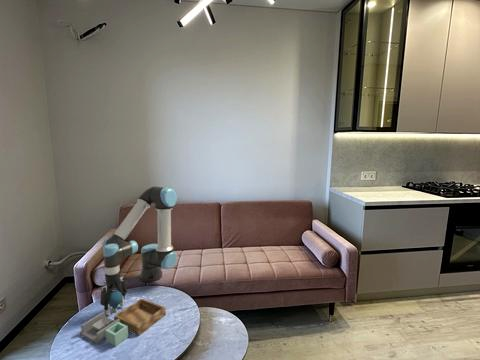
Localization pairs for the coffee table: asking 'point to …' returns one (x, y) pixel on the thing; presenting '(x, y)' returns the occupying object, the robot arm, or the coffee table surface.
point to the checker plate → (101, 324)
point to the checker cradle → (93, 333)
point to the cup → (116, 334)
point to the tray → (141, 316)
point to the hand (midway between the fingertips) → (115, 310)
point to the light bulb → (115, 299)
